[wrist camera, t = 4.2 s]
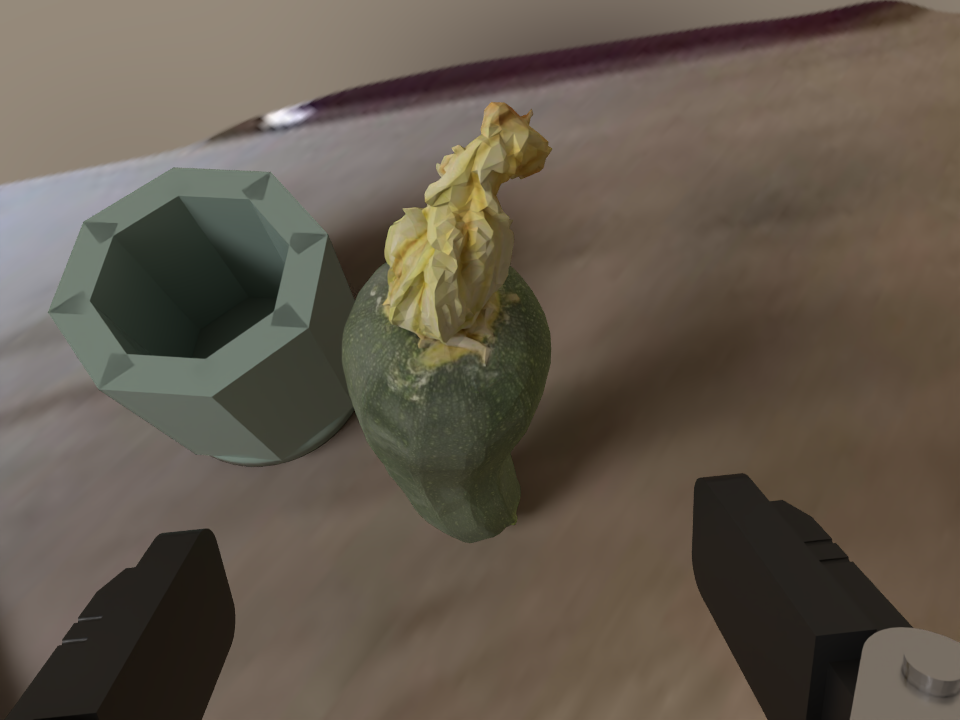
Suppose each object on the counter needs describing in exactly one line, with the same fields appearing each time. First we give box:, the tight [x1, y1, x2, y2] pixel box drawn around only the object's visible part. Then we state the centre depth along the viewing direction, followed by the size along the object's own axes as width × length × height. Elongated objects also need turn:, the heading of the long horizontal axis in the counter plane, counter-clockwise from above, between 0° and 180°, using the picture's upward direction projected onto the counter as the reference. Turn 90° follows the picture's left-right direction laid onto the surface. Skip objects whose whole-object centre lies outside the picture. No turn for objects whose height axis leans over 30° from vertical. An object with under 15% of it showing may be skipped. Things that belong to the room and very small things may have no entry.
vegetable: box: [342, 102, 552, 543], centre depth 17 cm, size 4×4×20 cm
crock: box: [48, 167, 355, 467], centre depth 25 cm, size 9×9×8 cm
